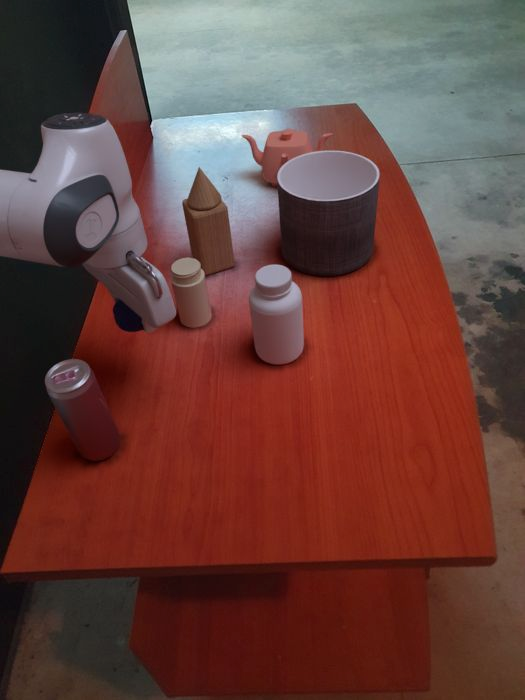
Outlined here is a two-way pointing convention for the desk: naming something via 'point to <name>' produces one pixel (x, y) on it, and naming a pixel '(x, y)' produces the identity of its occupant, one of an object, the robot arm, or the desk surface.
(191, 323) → the jar
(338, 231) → the planter
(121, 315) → the jar lid
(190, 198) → the decorative item
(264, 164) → the teapot
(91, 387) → the beverage can
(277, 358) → the pill bottle
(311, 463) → the desk surface
